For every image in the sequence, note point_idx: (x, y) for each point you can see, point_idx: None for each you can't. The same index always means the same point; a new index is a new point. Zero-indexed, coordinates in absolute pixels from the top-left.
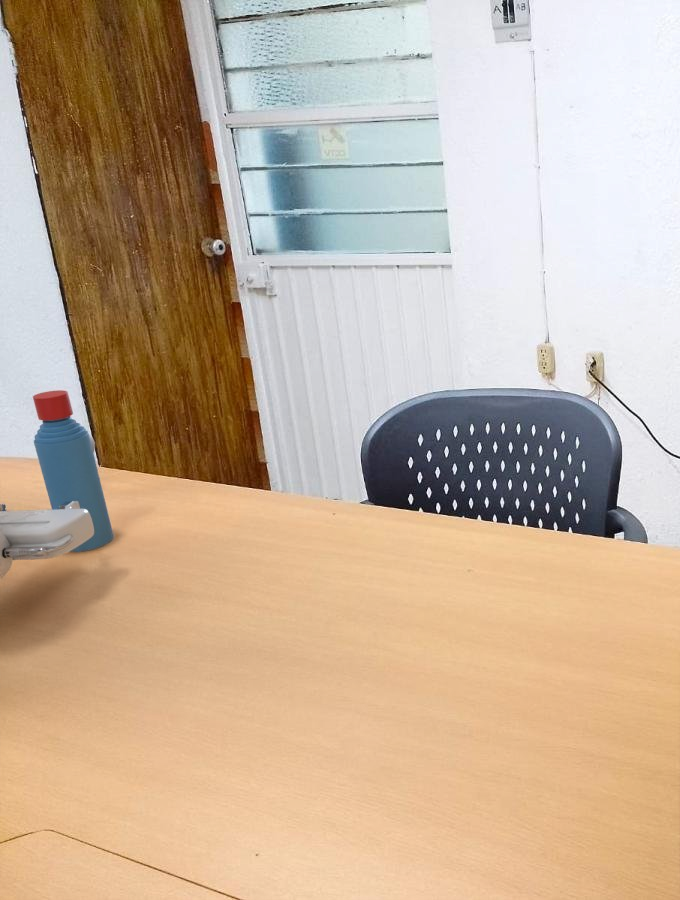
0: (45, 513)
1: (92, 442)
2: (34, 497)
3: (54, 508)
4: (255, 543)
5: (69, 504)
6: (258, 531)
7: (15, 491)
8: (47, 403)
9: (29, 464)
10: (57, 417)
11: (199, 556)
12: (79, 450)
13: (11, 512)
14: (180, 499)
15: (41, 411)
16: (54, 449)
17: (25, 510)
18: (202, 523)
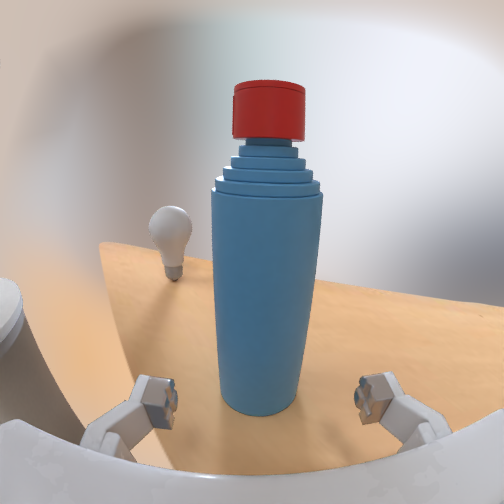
0: (455, 470)
1: (191, 224)
2: (127, 283)
3: (237, 352)
4: (482, 367)
5: (396, 389)
6: (460, 348)
7: (108, 273)
8: (283, 94)
9: (112, 246)
10: (294, 134)
11: (460, 404)
12: (319, 224)
13: (312, 496)
14: None
15: (262, 112)
16: (285, 215)
17: (352, 470)
18: (384, 341)
